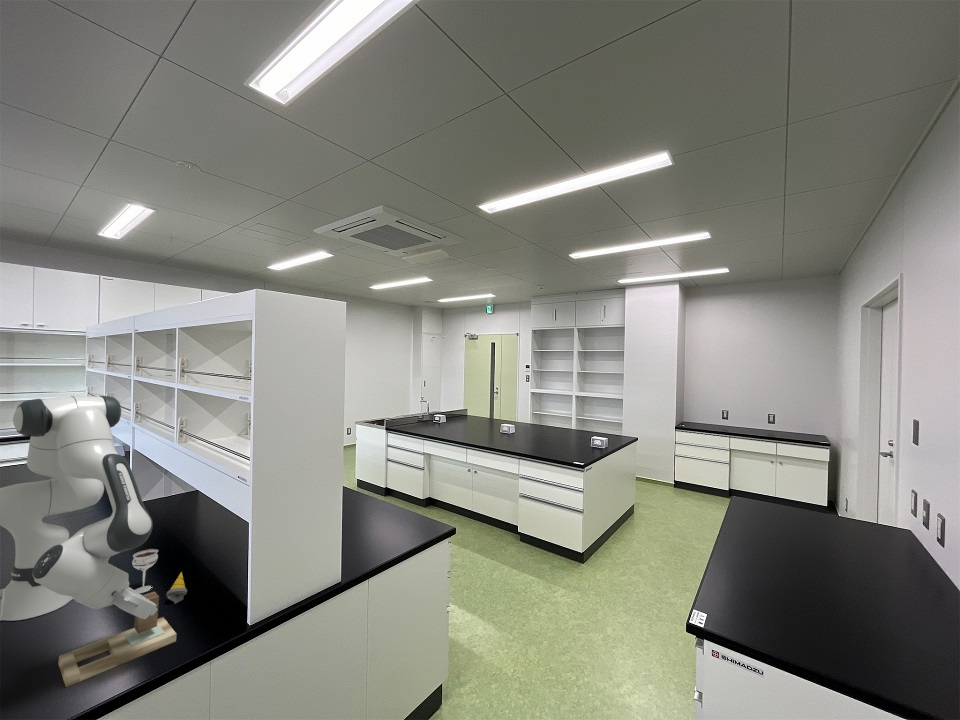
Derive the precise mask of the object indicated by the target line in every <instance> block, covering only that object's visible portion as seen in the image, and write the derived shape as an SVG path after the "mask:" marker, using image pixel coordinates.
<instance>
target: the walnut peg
mask: <svg viewBox="0 0 960 720" xmlns="http://www.w3.org/2000/svg"><path fill="white" fill-rule="evenodd" d="M141 595H142V596H144V597H146V598H147V599H149V600H150V601H152V602H153V603H155V604H156V608H157V609H158V610H157V612H156V613H155V614H154V615H153V616H151V615H149V616H148V617H147V618H146V619H141V618H139V617H136V616H134V622H133V623H134V625H133V628H135V630H136V631H137V633H141V632H144V631H146V630H149V629H151V628H154V627H157V619H159V618H158V617H159V600H160V596H159V594H157V592H156V591H152V592H149V593H146V594H141Z"/></svg>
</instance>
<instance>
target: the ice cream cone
mask: <svg viewBox="0 0 960 720" xmlns="http://www.w3.org/2000/svg"><path fill="white" fill-rule="evenodd" d="M187 594H188V589H187V588H186V585H185V581H184V576H183V571H181V572H180V573H179V574H178V576H177V578H176V580H175V581H174V583H173V584H172V586H171V587H170V589H169V590H168V591H167V592H166V596H165V597H166V599H168V600H170V601H172V602H173V603H174V605H175V604H177V603H179V602H182V601H183V600H184V597H185V596H186V595H187Z"/></svg>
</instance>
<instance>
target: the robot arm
mask: <svg viewBox="0 0 960 720" xmlns="http://www.w3.org/2000/svg"><path fill="white" fill-rule="evenodd" d="M121 416H122V407H121V403H120V401H119V400H118V399H117V398H115V397H114V396H109V395H99V396H92V395H70V396H62V397H59V396H58V397H51V398H44V399H43V398H42V399H41V398H35V399H29V400H25V401H22V402H20V403H19V405H18V406H17V407H16V410H15V411H14V412H13V416H12V423H13V425H14V428H15V429H16V432H17V433H18V434H20V435H21V436H23V437H25V436H26V437H30V439H29V445H28V451H27V456H26V457H27V459H26V466H27V468H28V470H29V471H31V472H33V473H35V474H37V475H40V476H43V477H44V476H45V477H48V478H50V479H47V480H40V481H39V480H37V481H29V482H23V483H21V482H20V483H16V484H11V485H7V486H2V487H0V526H1V527H3V528H4V529H6V530H7V531H8V532H9V533H10V535H11V536H12V538H13V540H14V544H15V545H14V547H15V548H14V549H15V560H14V564H13V566H12V570H11V572H10V573H11V574H10V575H11V577H10V579H11V580H10V581H9V583H8V584H7V585H6V586H5V588H1V589H0V622H1V621H7V622H10V621H22V620H27V619H32V618H36V617H39V616H42V615H45V614H49V613H51V612H53V611H56V610H58V609H60V608H62V607H64V606H66V605H67V604H68V603H70V602H71V601H72V600H74V601H75V602H76V603H78V604H79V603H80V604H82V605H84V606H86V607H88V608H91V609H93V610H100V609H104V608H105V607H110V606H113V605H115V607H118V608H119V609H120V610H121V611H124V612H126V613H129V614H130V615H132V616H134V617H135V616H136V617H139V618H141V619H146V618H147V617H148V616H149V615H151V616H153V615H154V614H155V613H156V612H157V610H158V611H159V608H158V609H157V608H156V604H155V603H153V602H152V601H150V600H149V599H147V598H146V597H144V596H142V595H143V594H142V593H138V592H136V591H135V589H133V588H132V587H130V581H129V576H130V575H129V573H128V572H126V571H124V570H122V569H120V568H118V567H116V566H115V565H113V564H111V563H109V560H110V558H111V556H112V557H113V556H115V555H118V554H120V553H123V552H126V551H130V550H134V549H136V548H140V547H141V546H143V545H144V543H146V541H148V539H149V537H150V536H151V534H152V530H153V525H154V523H153V522H154V521H153V518H152V516H151V515H150V513H149V511H148V510H147V509H146V506H145V505H144V502H143V499H142V497H141V494H140V491H139V488H138V484H137V482H136V479H135V476H134V473H133V471H132V468H131V466H130V463H129V462H128V460H127V458H126V457H124V456H123V455H122V454H119V453H118V452H117V449H116V447H115V444H114V437H113V433H112V430H111V428H113V427H115V426H116V425H117V424H119V422H120V420H121ZM105 490H106V493H107V495H108V499H109V501H110V502H109V503H110V505H111V509H112V513H111V515H110V516H109V517H105V518H104V519H101V520H98V521H96V522H93V523H91V524H88V525H85V526H84V527H82V528H80V529H78V530H77V531H76V532H74V533H73V534H72V536H71V537H70V532H69V530H68V529H67V528H66V527H64V526H61V525H56V524H52V523H51V524H50V523H46V522H43V518H44V517H47V516H52V515H57V514H58V515H59V514H63V513H64V514H65V513H70V512H76V511H78V510H82V509H86V508H89V507H91V506H94V505H96V504H97V503H98V502H99V501H100V500H101V499H102V497H103V494H104V492H105Z"/></svg>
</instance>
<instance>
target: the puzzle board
mask: <svg viewBox="0 0 960 720" xmlns="http://www.w3.org/2000/svg"><path fill="white" fill-rule="evenodd" d="M175 642H177V632H176V631H175V630H174V629H173V628H172V626H171V625H170V624H169V623H168V621H167V620H166V619H165V617H164V616H162V617H159V618H157V627H154V628H151V629H149V630H146V631H144V632H141V633H137V631H136V630H135V628H134V627H133V628H130V629H127V630H124V631H122V632H120V633H117V634H113V635H112V636H109V637H105V638H103V639H100V640H98V641H97V640H96V641H95V642H92V643H89V644H86V645H84V646H81V647H79V648H76V649H74V650H71V651H68V652H65V653H63V654H60V655H58V663H57V664H58V667H59V670H60V672H61V673H60V674H61V676H62V680H63V683H64V686H65V688H68V687H70V686H73V685H75V684H77V683H80V682H83V681H85V680H87V679H89V678H91V677H94V676H97V675H99V674H102V673H104V672H106V671H109V670H111V669H113V668H116V667H118V666H120V665H123V664H125V663H128V662H130V661H133V660H134V659H137V658H139V657H142V656H144V655H147V654H149V653H151V652H154V651H157V650H158V649H160V648H163V647H166V646H168V645H171V644H173V643H175ZM107 651H108V652H109V655H107V656H104V657H101V658H99V659H96V660H94V661H91V662H89V663H87V664H84V665H81V666H78V663H79V662H81V661H84V660H87V659H89V658H92V657H94V656H97V655H100V654H102V653H104V652H107Z"/></svg>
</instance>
